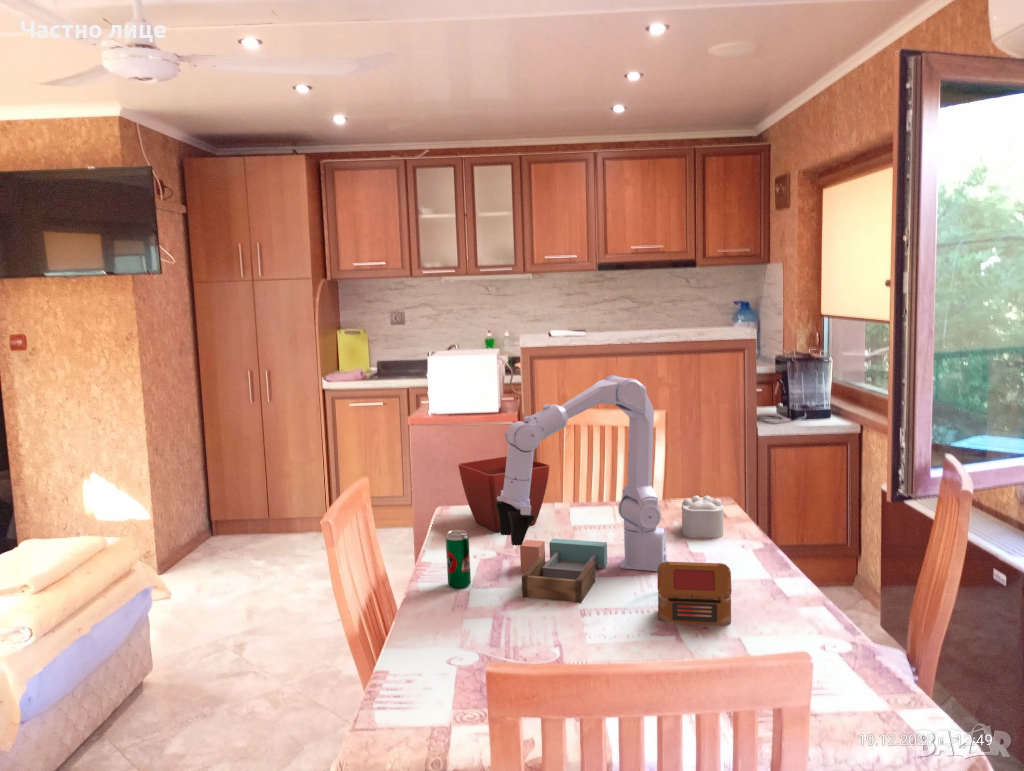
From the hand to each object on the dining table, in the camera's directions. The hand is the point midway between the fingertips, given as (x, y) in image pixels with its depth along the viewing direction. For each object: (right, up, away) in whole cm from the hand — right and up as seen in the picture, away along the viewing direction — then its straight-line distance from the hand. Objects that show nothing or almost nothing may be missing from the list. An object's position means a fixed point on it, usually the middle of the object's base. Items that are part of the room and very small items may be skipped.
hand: (510, 539), depth 165 cm
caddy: (+11, -10, -1) cm, 15 cm away
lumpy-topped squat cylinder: (+50, -5, +35) cm, 61 cm away
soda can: (-11, -11, +3) cm, 16 cm away
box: (+35, -12, -18) cm, 41 cm away
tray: (+14, -9, +8) cm, 18 cm away
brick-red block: (+5, -9, +12) cm, 16 cm away
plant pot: (-2, -5, +48) cm, 48 cm away
